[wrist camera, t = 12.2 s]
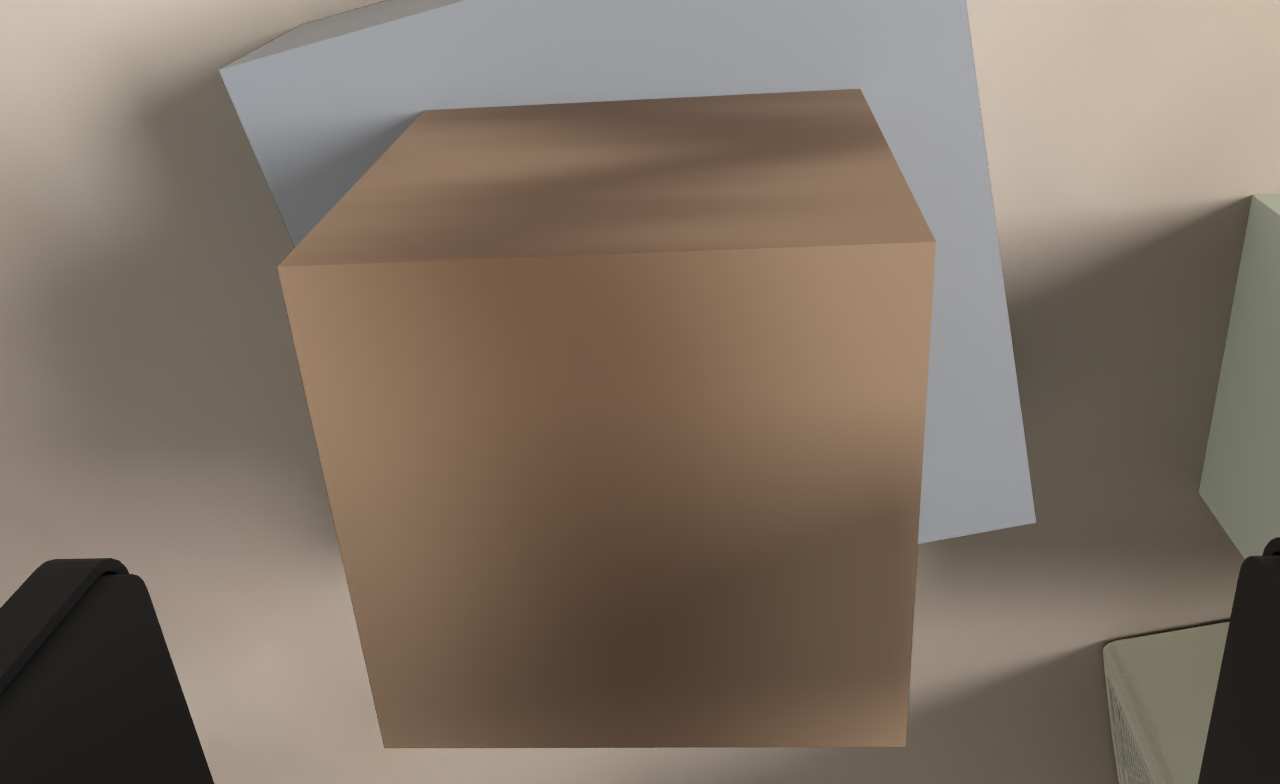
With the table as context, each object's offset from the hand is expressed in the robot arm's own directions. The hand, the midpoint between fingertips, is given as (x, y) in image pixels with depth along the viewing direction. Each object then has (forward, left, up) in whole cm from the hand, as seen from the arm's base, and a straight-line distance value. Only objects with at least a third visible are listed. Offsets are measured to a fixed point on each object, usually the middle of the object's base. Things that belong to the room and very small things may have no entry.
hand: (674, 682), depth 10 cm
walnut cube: (+1, 0, -8) cm, 8 cm away
